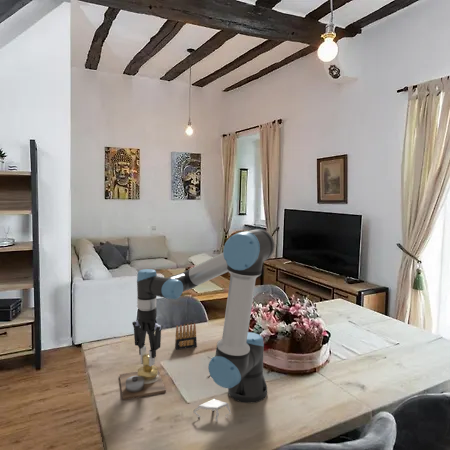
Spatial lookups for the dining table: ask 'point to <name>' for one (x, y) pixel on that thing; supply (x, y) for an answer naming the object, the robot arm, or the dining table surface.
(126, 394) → the carrier plate
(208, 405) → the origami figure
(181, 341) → the ammunition clip
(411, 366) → the dining table surface
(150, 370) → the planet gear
